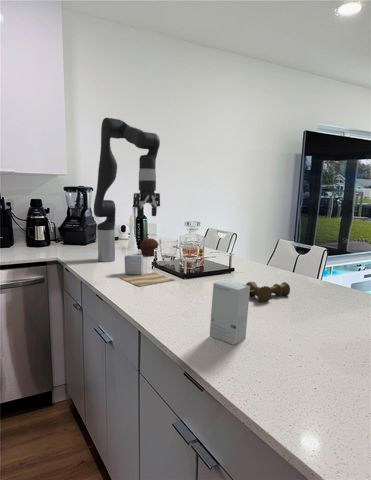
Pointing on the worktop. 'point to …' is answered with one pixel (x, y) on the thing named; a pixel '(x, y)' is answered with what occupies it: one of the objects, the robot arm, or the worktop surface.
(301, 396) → the worktop surface
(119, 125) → the robot arm
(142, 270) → the medicine box
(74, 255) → the worktop surface
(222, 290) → the skincare box
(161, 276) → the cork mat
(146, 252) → the muffin
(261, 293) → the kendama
